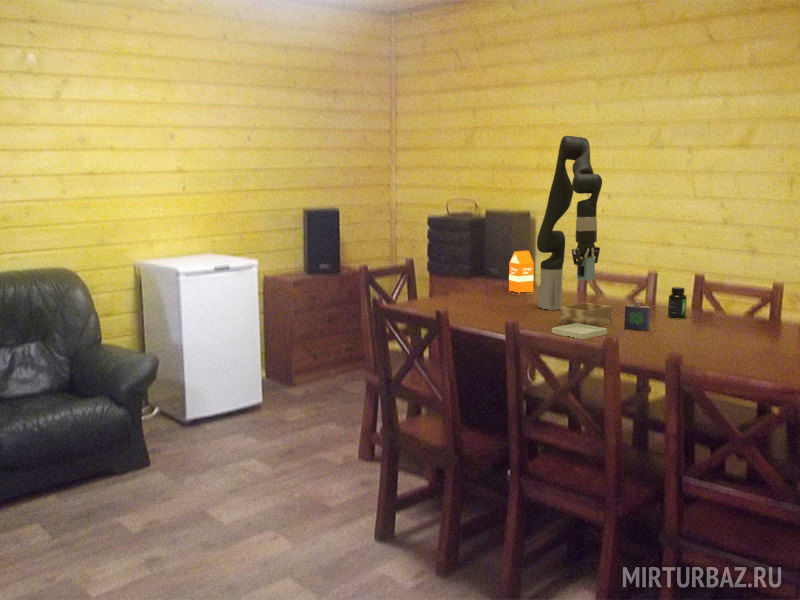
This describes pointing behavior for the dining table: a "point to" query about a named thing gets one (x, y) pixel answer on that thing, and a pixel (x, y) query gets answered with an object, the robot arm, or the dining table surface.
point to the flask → (637, 317)
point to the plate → (579, 331)
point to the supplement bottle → (677, 303)
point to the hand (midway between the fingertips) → (585, 275)
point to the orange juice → (521, 272)
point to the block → (588, 269)
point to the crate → (586, 314)
